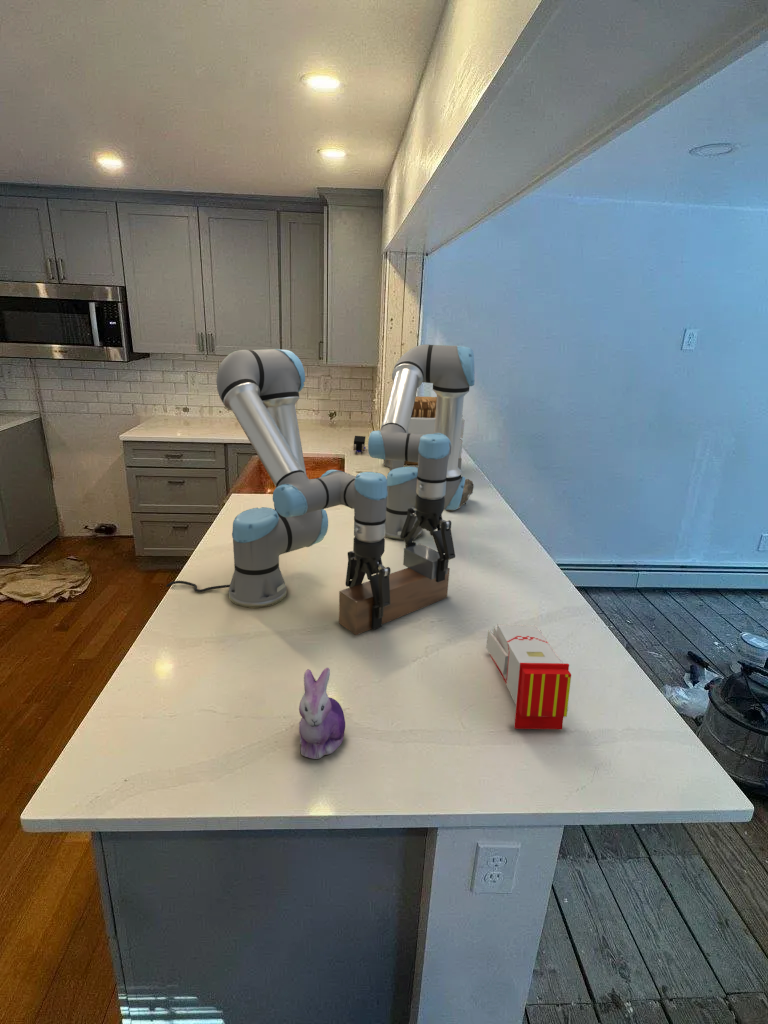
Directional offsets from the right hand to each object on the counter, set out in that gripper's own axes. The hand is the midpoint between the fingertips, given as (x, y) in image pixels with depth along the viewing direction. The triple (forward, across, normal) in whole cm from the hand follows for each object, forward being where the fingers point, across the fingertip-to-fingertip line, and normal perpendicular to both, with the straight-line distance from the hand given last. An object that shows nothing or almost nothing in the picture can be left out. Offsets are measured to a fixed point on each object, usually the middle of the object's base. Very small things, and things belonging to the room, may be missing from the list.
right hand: (424, 572), depth 153 cm
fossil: (+8, -50, +68) cm, 85 cm away
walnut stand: (+8, 0, -10) cm, 13 cm away
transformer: (+8, -92, +88) cm, 127 cm away
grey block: (-1, 0, 0) cm, 1 cm away
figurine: (+8, +28, -53) cm, 60 cm away
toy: (+8, +40, -10) cm, 42 cm away
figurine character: (+8, -141, +89) cm, 167 cm away
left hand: (+8, 0, -20) cm, 21 cm away
